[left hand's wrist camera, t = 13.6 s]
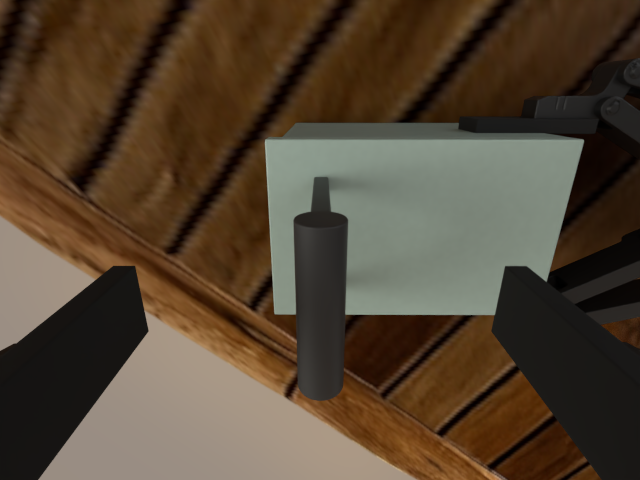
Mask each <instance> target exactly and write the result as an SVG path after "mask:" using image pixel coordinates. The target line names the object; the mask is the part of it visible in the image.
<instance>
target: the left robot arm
mask: <svg viewBox="0 0 640 480" xmlns="http://www.w3.org/2000/svg"><path fill="white" fill-rule="evenodd" d="M147 333H148V326H147V322H146V317H145V312H144V307H143V302H142V297H141V293H140V288H139V283H138V278H137V273H136V269H135V266H113V267H111V268H110V269H109V270H108V271H106V272H105V273H104V274H103V275H101V276H100V277H99V278H98V279H96V280H95V281H94V282H93V283H92V284H90V285H89V286H88V287H86V288H85V289H84V290H83V291H82V292H80V293H79V294H78V295H77V296H75V297H74V298H73V299H71V300H70V301H69V302H68V303H66V304H65V305H64V306H63V307H62V308H60V309H59V310H58V311H57V312H55V313H54V314H53V315H52V316H50V317H49V318H48V319H47V320H45V321H44V322H43V323H42V324H40V325H39V326H38V327H37V328H35V329H34V330H33V331H32V332H30V333H29V334H28V335H27V336H25V337H24V338H23V339H22V340H20V341H19V342H18V343H17V344H13V345H11V346H9V347H7V348H5V349H3V350H1V351H0V480H38V479H39V478H40V476H41V475H42V474H43V472H44V471H45V470H46V468H47V467H48V466H49V464H50V463H51V462H52V460H53V459H54V458H55V456H56V455H57V453H58V452H59V451H60V450H61V448H62V447H63V446H64V444H65V443H66V441H67V440H68V439H69V437H70V436H71V435H72V433H73V432H74V431H75V429H76V428H77V427H78V425H79V424H80V423H81V421H82V420H83V419H84V417H85V416H86V415H87V413H88V412H89V411H90V409H91V408H92V407H93V405H94V404H95V403H96V401H97V400H98V398H99V397H100V396H101V394H102V393H103V392H104V390H105V389H106V388H107V386H108V385H109V384H110V382H111V381H112V380H113V378H114V377H115V376H116V374H117V373H118V372H119V370H120V369H121V367H122V366H123V365H124V364H125V362H126V361H127V359H128V358H129V357H130V355H131V354H132V353H133V351H134V350H135V349H136V347H137V346H138V345H139V343H140V342H141V341H142V339H143V338H144V337H145V335H146V334H147ZM492 333H493V334H494V335H495V337H496V338H497V339H498V341H499V342H500V343H501V345H502V346H503V347H504V349H505V350H506V351H507V353H508V354H509V355H510V357H511V358H512V359H513V361H514V362H515V364H516V365H517V366H518V368H519V369H520V370H521V372H522V373H523V374H524V376H525V377H526V378H527V380H528V381H529V382H530V384H531V385H532V386H533V388H534V389H535V390H536V392H537V393H538V394H539V396H540V397H541V398H542V400H543V401H544V403H545V404H546V405H547V407H548V408H549V409H550V411H551V412H552V413H553V415H554V416H555V417H556V419H557V420H558V421H559V423H560V424H561V425H562V427H563V428H564V429H565V431H566V432H567V433H568V435H569V436H570V437H571V439H572V440H573V442H574V443H575V444H576V446H577V447H578V448H579V450H580V451H581V452H582V454H583V455H584V456H585V458H586V459H587V460H588V462H589V463H590V464H591V466H592V467H593V468H594V470H595V471H596V472H597V474H598V475H599V477H600V478H601V479H602V480H640V349H638V348H636V347H634V346H632V345H630V344H628V343H627V342H621V341H620V340H618V339H617V338H616V337H615V336H613V335H612V334H611V333H610V332H608V331H607V330H606V329H605V328H603V327H602V326H601V325H600V324H598V323H597V322H596V321H595V320H593V319H592V318H591V317H590V316H588V315H587V314H586V313H585V312H583V311H582V310H581V309H580V308H578V307H577V306H576V305H575V304H574V303H572V302H571V301H570V300H569V299H567V298H566V297H565V296H564V295H562V294H561V293H560V292H559V291H557V290H556V289H555V288H554V287H552V286H551V285H550V284H549V283H547V282H546V281H545V280H544V279H542V278H541V277H540V276H539V275H537V274H536V273H535V272H534V271H532V270H531V269H530V268H529V267H527V266H505V269H504V273H503V278H502V283H501V288H500V293H499V297H498V302H497V307H496V312H495V317H494V321H493V326H492Z"/></svg>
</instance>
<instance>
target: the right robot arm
mask: <svg viewBox="0 0 640 480" xmlns="http://www.w3.org/2000/svg"><path fill="white" fill-rule="evenodd" d="M592 81H593V82H592V83H591V85H590V87H589V88H588V89H587V90H586V91H585V92H584V93H583V94H581V95H578V96H533V97H531V98H528V99H526V100H525V101H524V106H523V111H522V116H521V117H460V120H459V127H458V129H460V130H464V131H469V132H473V133H546V134H595V132H596V131H597V132H599V133H600V134H602V135H603V136H605V137H606V138H608V139H609V140H611V141H612V142H613V143H615V144H616V145H618V146H619V147H621V148H622V149H624V150H625V151H627V152H628V153H630V154H631V155H633V156H634V157H636V158H637V159H639V160H640V111H639V110H638V109H636V108H635V107H633V106H632V105H630V104H629V103H628V102H626V101H625V100H623V99H624V97H625V96H626V94H627V95H630V96H633V97H636V98H639V99H640V59H630V60H622V61H614V62H606V63H602V64H599V65H598V66H597V67H596V68H595V69H594V70H593V73H592ZM639 277H640V229H638V230H635V231H633V232H631V233H628V234H626V235H624V236H623V237H622V241H621V242H619V243H617V244H615V245H612V246H610V247H608V248H605V249H603V250H601V251H598V252H596V253H594V254H591V255H589V256H587V257H585V258H582V259H580V260H578V261H575V262H573V263H571V264H568V265H566V266H564V267H561V268H559V269H557V270H554V271H552V272H550V273H549V275H548V279H547V283H549V284H550V285H551V286H552V287H554V288H555V289H556V290H557V291H559V292H560V293H561V294H562V295H564V296H565V297H566V298H567V299H569V300H570V301H571V302H572V303H574V304H575V305H576V306H577V307H578V308H580V309H581V310H582V311H583V312H585V313H586V314H587V315H588V316H590V317H591V318H592V319H593V320H595V321H596V322H597V323H598V324H600V325H602V324H606V323H611V322H616V321H621V320H626V319H631V318H636V317H640V279H637V278H639ZM634 279H636V280H634Z"/></svg>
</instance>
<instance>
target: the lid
mask: <svg viewBox="0 0 640 480" xmlns="http://www.w3.org/2000/svg"><path fill="white" fill-rule="evenodd" d="M583 144H584V140H583V139H577V138H571V137H269V138H267V139H266V140H265V151H266V169H267V187H268V205H269V223H270V241H271V259H272V277H273V296H274V313H275V314H296V330H297V364H298V387H299V389H300V391H301V392H302V394H304V395H305V396H306V397H308V398H310V399H313V400H318V401H323V400H329V399H331V398H334V397H335V396H337V395H338V394H339V393H340V391H341V390H342V387H343V373H344V341H345V314H355V315H495V312H496V307H497V302H498V297H499V293H500V288H501V283H502V278H503V273H504V269H505V266H527V267H529V268H530V269H531V270H532V271H534V272H535V273H536V274H537V275H539V276H540V277H541V278H542V279H544V280H545V281H546V282H547V279H548V275H549V271H550V267H551V264H552V260H553V256H554V252H555V249H556V245H557V241H558V237H559V234H560V230H561V226H562V222H563V219H564V215H565V211H566V207H567V204H568V200H569V196H570V192H571V189H572V185H573V181H574V177H575V174H576V170H577V166H578V162H579V159H580V155H581V151H582V147H583Z"/></svg>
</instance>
